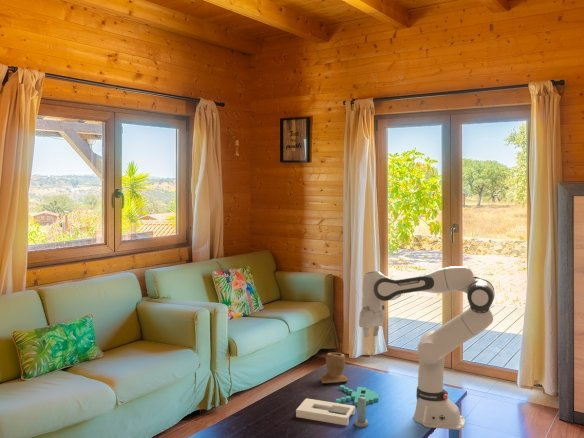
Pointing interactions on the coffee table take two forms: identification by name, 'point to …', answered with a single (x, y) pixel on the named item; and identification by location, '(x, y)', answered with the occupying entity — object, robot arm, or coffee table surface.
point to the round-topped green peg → (361, 413)
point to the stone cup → (334, 368)
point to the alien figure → (358, 395)
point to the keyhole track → (325, 411)
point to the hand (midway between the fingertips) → (371, 336)
